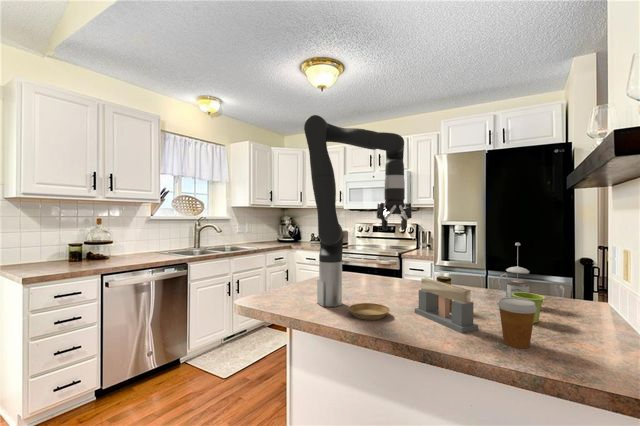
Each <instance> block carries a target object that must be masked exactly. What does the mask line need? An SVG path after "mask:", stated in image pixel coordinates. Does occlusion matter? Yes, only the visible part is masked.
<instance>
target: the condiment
mask: <svg viewBox="0 0 640 426" xmlns="http://www.w3.org/2000/svg"><path fill="white" fill-rule="evenodd" d="M436 281H439V282H442V283H446V284H450V285H452V278H451V277H450V276H445V275H444V276H443V275H442V276H437V277H436ZM452 301H453V300H451V299H450V312H452ZM437 309H438V310H439V295H437Z"/></svg>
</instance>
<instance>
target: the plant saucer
mask: <svg viewBox="0 0 640 426" xmlns="http://www.w3.org/2000/svg"><path fill="white" fill-rule="evenodd" d="M348 310H349V312H350V313H351V315H353V316H354V317H355V318H357V319H360V320H367V321H378V320H382V319H384V318H385V317H386V316H387V315H388V314H389V313H390V311H391V309H390V307H388V306H386V305H384V304H379V303H374V302H373V303H372V302H363V303H360V302H359V303H354V304H351V305H350V306H348Z"/></svg>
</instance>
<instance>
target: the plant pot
mask: <svg viewBox="0 0 640 426" xmlns="http://www.w3.org/2000/svg"><path fill="white" fill-rule="evenodd" d="M512 295H513V297H514V298H521V299H526V300H530V301H532V302H534V303H535V306H536V308H537V310H536V312H535V315H534V321H533V324H536V323H539V319H540V314H541V309H542V304H543V302H544V300H545V299H546V298H545V296H543V295H539V294H537V293H531V292H529V293H526V292H521V291H520V292H513V293H512Z"/></svg>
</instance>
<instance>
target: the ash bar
mask: <svg viewBox="0 0 640 426" xmlns="http://www.w3.org/2000/svg"><path fill="white" fill-rule="evenodd" d="M420 281H421V282H420V284H421V289H420V290H424V291H427V292H430V293H433V294H436V295H439V296H442V297H445V298H448V299H451V300H452V301H458V302H461V303H464V304H467V303H470V302H471V289H467V288H464V287H460V286H458V285H457V286H456V285H453V284H451V285H450V284H446V283H442V282H439V281H437V280H435V279H431V278H427V277H426V278H421V279H420Z"/></svg>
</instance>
